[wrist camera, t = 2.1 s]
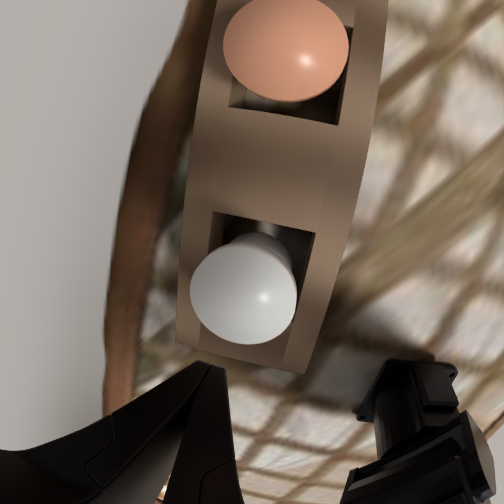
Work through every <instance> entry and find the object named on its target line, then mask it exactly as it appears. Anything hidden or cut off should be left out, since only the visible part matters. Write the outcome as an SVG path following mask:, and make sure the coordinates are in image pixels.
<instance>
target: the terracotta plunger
mask: <svg viewBox="0 0 504 504" xmlns="http://www.w3.org/2000/svg"><path fill="white" fill-rule="evenodd" d="M348 50H349V44H348V37H347V33H346V31H345V28H344V26H343V24H342V22H341V21H340V19H339V18H338V17H337V15H336V14H335V13H334V12H333V11H332V10H331V9H330V8H328V7H327V6H326V5H324V4H323V3H321V2H319V1H318V0H253V1H251V2H249V3H248V4H246V5H245V6H243V7H242V8H241V9H240V10H239V11H238V12H237V13H236V14H235V15H234V16H233V18H232V19H231V21H230V22H229V24H228V26H227V29H226V31H225V35H224V41H223V52H224V57H225V60H226V63H227V65H228V67H229V69H230V71H231V72H232V74H233V75H234V77H235V78H236V79H237V80H238V81H239V82H240V83H241V84H243V85H244V86H245V87H246V88H248V89H249V90H250V91H252V92H253V93H255V94H256V95H259V96H261V97H263V98H266V99H269V100H272V101H277V102H300V101H305V100H309V99H311V98H314V97H316V96H318V95H320V94H322V93H323V92H325V91H326V90H328V89H329V88H330V87H331V86H332V85H333V84H334V83H335V82H336V81H337V79H338V78H339V76H340V75H341V73H342V71H343V69H344V66H345V64H346V61H347V57H348Z"/></svg>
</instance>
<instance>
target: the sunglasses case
mask: <svg viewBox="0 0 504 504" xmlns="http://www.w3.org/2000/svg"><path fill="white" fill-rule="evenodd" d="M162 503H163V501H162V500H160V499H158V498H157V499H156V501H155V503H154V504H162Z"/></svg>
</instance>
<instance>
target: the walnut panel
mask: <svg viewBox="0 0 504 504" xmlns="http://www.w3.org/2000/svg"><path fill="white" fill-rule="evenodd" d="M251 1H253V0H217V4H216V8H215V13H214V17H213V22H212V26H211V31H210V36H209V41H208V46H207V51H206V56H205V61H204V67H203V72H202V78H201V83H200V89H199V95H198V101H197V108H196V114H195V121H194V127H193V134H192V142H191V149H190V157H189V165H188V173H187V182H186V191H185V200H184V210H183V220H182V232H181V244H180V257H179V272H178V288H177V309H176V336H175V342H176V343H179V344H182V345H186V346H189V347H192V348H196V349H199V350H203V351H206V352H210V353H214V354H217V355H221V356H225V357H229V358H232V359H236V360H240V361H244V362H248V363H253V364H257V365H261V366H265V367H270V368H274V369H279V370H284V371H288V372H293V373H298V374H303V375H304V374H305V372H306V369H307V366H308V364H309V361H310V358H311V355H312V352H313V349H314V347H315V344H316V341H317V338H318V335H319V332H320V329H321V326H322V323H323V320H324V317H325V314H326V310H327V307H328V304H329V301H330V298H331V294H332V291H333V288H334V285H335V281H336V278H337V274H338V271H339V267H340V264H341V260H342V257H343V253H344V250H345V246H346V242H347V238H348V235H349V231H350V227H351V223H352V219H353V215H354V211H355V207H356V203H357V198H358V194H359V190H360V185H361V181H362V176H363V172H364V167H365V162H366V157H367V152H368V147H369V142H370V137H371V132H372V126H373V120H374V115H375V109H376V102H377V96H378V90H379V83H380V76H381V68H382V60H383V52H384V43H385V33H386V23H387V10H388V0H318V1H319V2H321V3H323V4H324V5H326V6H327V7H328V8H330V9H331V10H332V11H333V12H334V13H335V14H336V15H337V17H338V18H339V19H340V21H341V22H342V24H343V26H344V28H345V31H346V33H347V37H348V44H349V50H348V57H347V61H346V64H345V66H344V70H343V76H342V83H341V89H340V95H339V101H338V107H337V113H336V118H335V124H334V125H331V124H326V123H322V122H317V121H312V120H307V119H302V118H297V117H291V116H286V115H280V114H274V113H267V112H261V111H254V110H246V109H243V104H244V98H245V92H246V87H245V86H244V85H243V84H241V83H240V82H239V81H238V80H237V79H236V78H235V77H234V75H233V74H232V72H231V71H230V69H229V67H228V65H227V63H226V60H225V57H224V52H223V41H224V35H225V31H226V29H227V26H228V24H229V22H230V21H231V19H232V18H233V16H234V15H235V14H236V13H237V12H238V11H239V10H240V9H241V8H242V7H243V6H245V5H246V4H248V3H249V2H251ZM226 214H230V215H235V216H240V217H245V218H249V219H254V220H259V221H264V222H269V223H274V224H278V225H283V226H288V227H292V228H297V229H302V230H306V231H311V232H312V236H311V240H310V244H309V249H308V253H307V257H306V261H305V265H304V269H303V273H302V277H301V281H300V285H299V289H298V293H297V300H296V307H295V313H294V316H293V318H292V320H291V322H290V324H289V325H288V327H287V328H286V329H285V330H284V331H283V332H282V333H281V334H280V335H278V336H277V337H275V338H273V339H271V340H269V341H266V342H263V343H258V344H239V343H234V342H231V341H228V340H225V339H223V338H221V337H219V336H217V335H216V334H214V333H213V332H211V331H210V330H209V329H208V328H207V327H206V326H205V325H204V324H203V323H202V322H201V321H200V319H199V318H198V316H197V315H196V313H195V311H194V309H193V306H192V303H191V298H190V284H191V280H192V276H193V274H194V272H195V270H196V269H197V267H198V266H199V265H200V264H201V262H202V261H203V260H204V259H205V258H206V257H207V256H208V255H209V254H210V253H211V252H212V251H214V250H215V249H217V248H219V247H221V246H222V243H223V236H224V228H225V221H226Z"/></svg>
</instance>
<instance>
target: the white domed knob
mask: <svg viewBox="0 0 504 504" xmlns="http://www.w3.org/2000/svg"><path fill="white" fill-rule="evenodd" d="M190 298H191V303H192V306H193V309H194V311H195V313H196V315H197V316H198V318H199V319H200V321H201V322H202V323H203V324H204V325H205V326H206V327H207V328H208V329H209V330H210V331H211V332H213V333H214V334H216V335H217V336H219V337H221V338H223V339H225V340H228V341H231V342H234V343H239V344H258V343H263V342H266V341H269V340H271V339H273V338H275V337H277V336H278V335H280V334H281V333H282V332H283V331H284V330H285V329H286V328H287V327H288V325H289V324H290V322H291V320H292V318H293V316H294V313H295V307H296V300H297V287H296V282H295V278H294V276H293V274H292V262H291V258H290V255H289V253H288V251H287V249H286V248H285V247H284V245H283V244H282V243H281V242H280V241H278V240H277V239H276V238H274V237H272V236H270V235H267V234H264V233H259V232H251V233H245V234H242V235H240V236H238V237H236V238H235V239H233V240H232V241H231V242H230V243H229V244H226V245H224V246H221V247H219V248H217V249H215V250H214V251H212V252H211V253H210V254H209V255H208V256H207V257H206V258H205V259H204V260H203V261H202V262H201V264H200V265H199V266H198V267H197V269H196V270H195V272H194V274H193V276H192V280H191V284H190Z"/></svg>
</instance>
